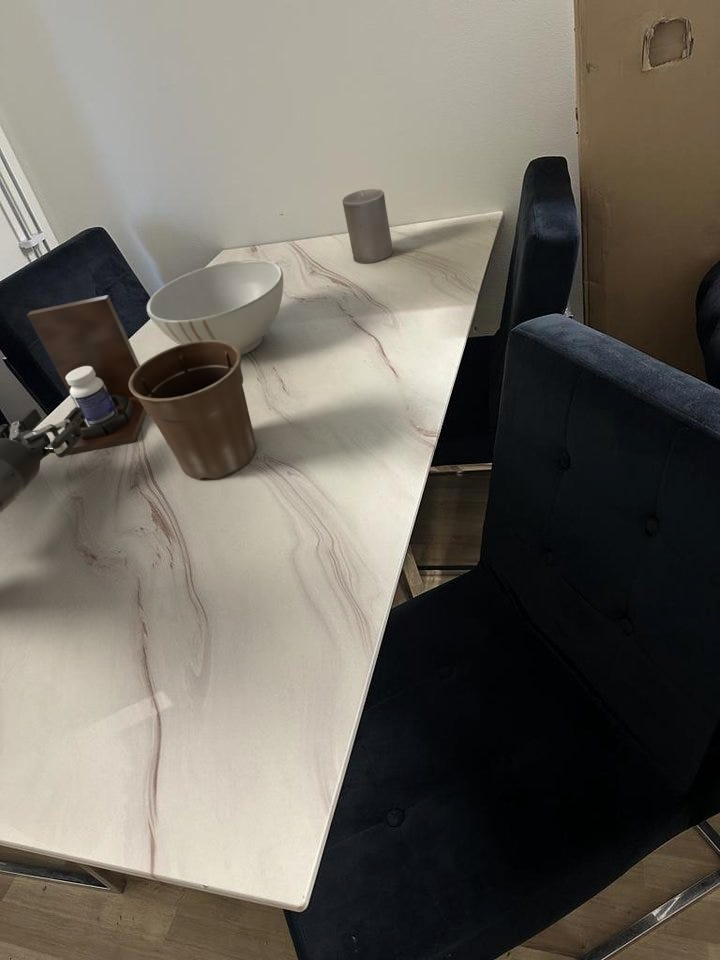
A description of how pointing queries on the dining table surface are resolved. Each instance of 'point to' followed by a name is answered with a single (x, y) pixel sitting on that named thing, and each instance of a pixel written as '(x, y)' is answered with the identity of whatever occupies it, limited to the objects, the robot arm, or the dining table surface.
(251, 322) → the decorative bowl
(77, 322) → the stand
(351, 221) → the pillar candle
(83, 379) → the pill bottle
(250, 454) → the plant pot
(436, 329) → the dining table surface
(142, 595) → the dining table surface
